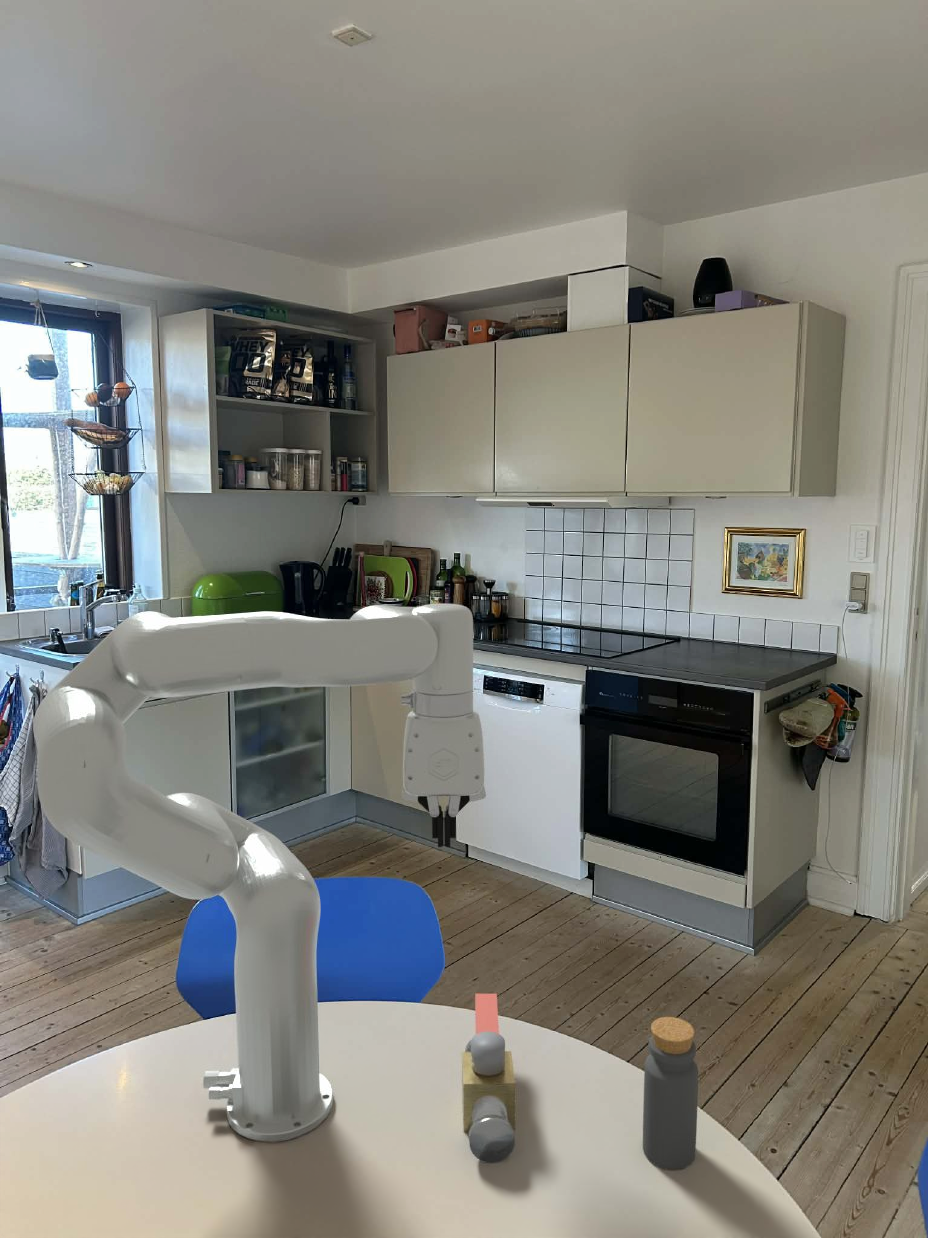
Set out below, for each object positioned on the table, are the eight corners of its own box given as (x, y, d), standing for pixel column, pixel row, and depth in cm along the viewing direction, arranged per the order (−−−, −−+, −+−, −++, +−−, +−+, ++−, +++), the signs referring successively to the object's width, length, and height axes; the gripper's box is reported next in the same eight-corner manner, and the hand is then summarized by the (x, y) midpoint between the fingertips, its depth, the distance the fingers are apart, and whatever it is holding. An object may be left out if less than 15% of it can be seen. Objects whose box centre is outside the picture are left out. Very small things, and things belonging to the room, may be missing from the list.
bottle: (682, 1179, 99) (686, 1051, 97) (633, 1155, 102) (636, 1031, 100) (703, 1148, 103) (708, 1025, 101) (656, 1126, 107) (659, 1007, 105)
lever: (505, 1075, 106) (505, 1052, 106) (471, 1075, 106) (471, 1052, 106) (501, 1008, 120) (501, 986, 120) (470, 1008, 120) (470, 986, 120)
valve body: (464, 1163, 101) (464, 1114, 100) (461, 1071, 117) (460, 1028, 116) (519, 1162, 101) (519, 1113, 100) (507, 1070, 117) (507, 1027, 116)
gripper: (381, 711, 110) (383, 856, 113) (505, 709, 111) (504, 854, 113) (384, 696, 118) (387, 833, 120) (500, 695, 118) (500, 831, 121)
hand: (443, 843), depth 117 cm, fingers closed
